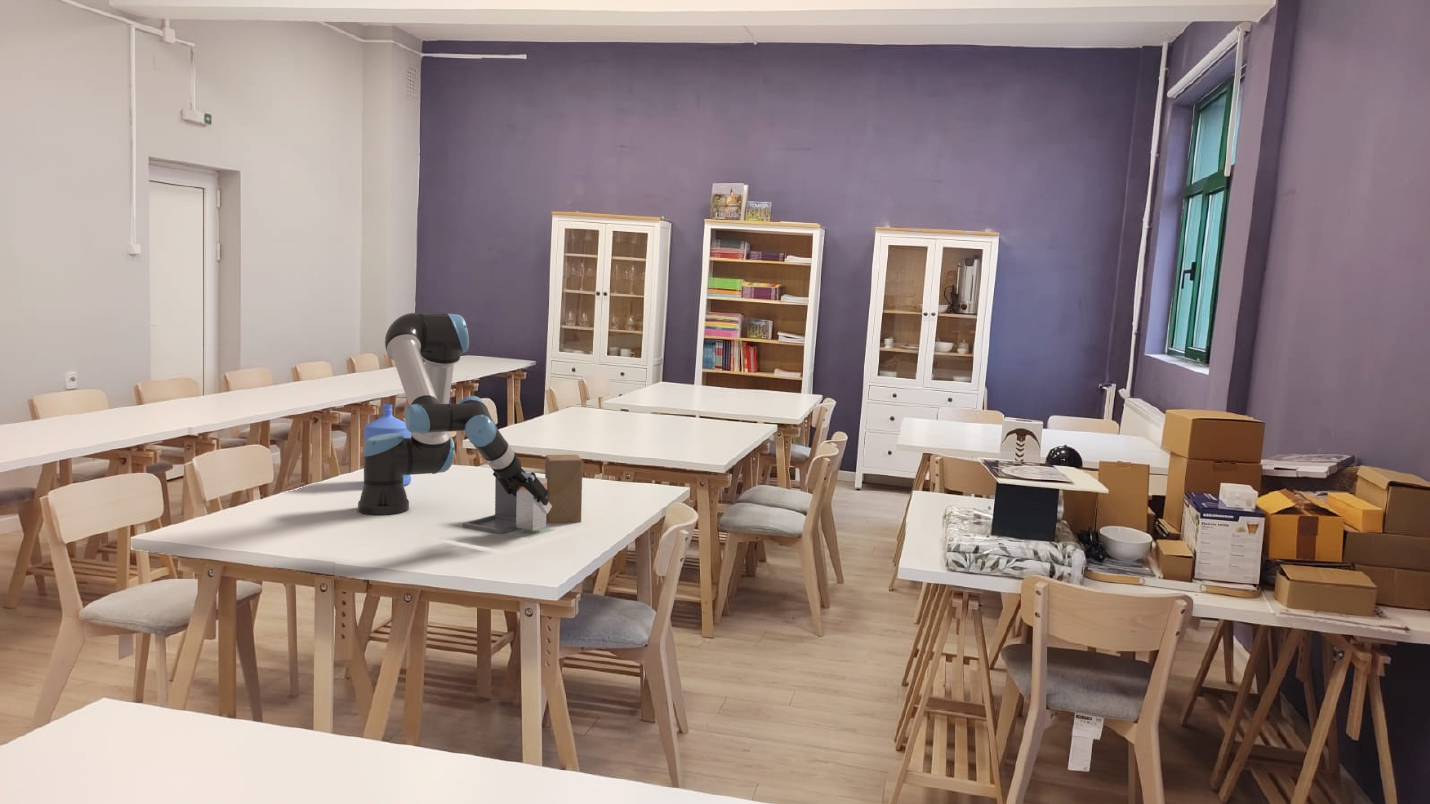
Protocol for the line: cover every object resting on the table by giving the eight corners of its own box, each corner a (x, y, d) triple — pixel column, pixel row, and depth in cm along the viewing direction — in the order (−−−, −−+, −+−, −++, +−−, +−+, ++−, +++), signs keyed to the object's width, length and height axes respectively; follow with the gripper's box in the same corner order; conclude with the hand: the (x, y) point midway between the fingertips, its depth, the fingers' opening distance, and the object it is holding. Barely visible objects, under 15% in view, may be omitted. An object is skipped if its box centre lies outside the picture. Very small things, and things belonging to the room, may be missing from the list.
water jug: (364, 480, 353) (364, 402, 350) (410, 479, 358) (411, 402, 355) (363, 489, 338) (362, 407, 335) (411, 487, 343) (411, 407, 340)
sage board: (506, 537, 281) (506, 533, 280) (533, 529, 291) (533, 525, 291) (528, 541, 277) (528, 537, 277) (555, 533, 287) (555, 529, 287)
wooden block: (547, 526, 295) (548, 460, 293) (544, 518, 304) (545, 454, 302) (581, 525, 297) (582, 459, 295) (576, 518, 307) (578, 454, 305)
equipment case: (462, 529, 287) (462, 475, 285) (497, 520, 300) (498, 468, 299) (500, 537, 280) (500, 481, 279) (534, 526, 294) (535, 473, 292)
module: (515, 527, 282) (516, 479, 281) (529, 523, 288) (530, 476, 286) (532, 530, 280) (533, 481, 278) (546, 526, 285) (547, 478, 283)
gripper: (469, 466, 273) (507, 514, 289) (523, 474, 264) (560, 523, 280) (482, 445, 277) (519, 493, 293) (536, 452, 268) (572, 502, 284)
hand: (539, 508), depth 286 cm, fingers closed on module, 6 cm apart
